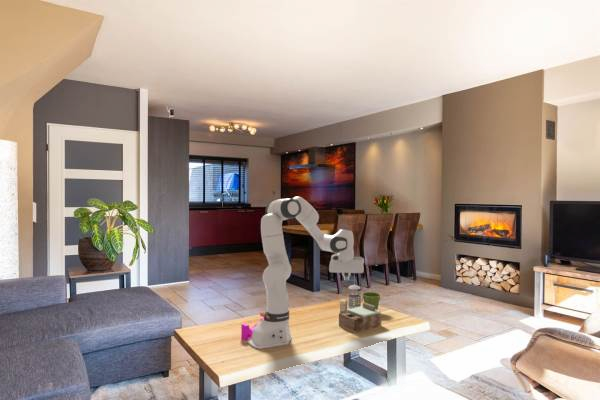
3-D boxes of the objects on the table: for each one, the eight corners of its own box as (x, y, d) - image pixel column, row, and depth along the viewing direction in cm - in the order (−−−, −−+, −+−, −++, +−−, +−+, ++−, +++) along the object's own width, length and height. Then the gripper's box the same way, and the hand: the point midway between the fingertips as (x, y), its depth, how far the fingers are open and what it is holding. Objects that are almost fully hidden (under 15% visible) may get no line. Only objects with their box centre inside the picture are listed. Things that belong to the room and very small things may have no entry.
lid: (363, 317, 201) (363, 310, 201) (347, 311, 212) (347, 305, 212) (380, 312, 208) (380, 306, 208) (364, 307, 219) (364, 301, 219)
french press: (354, 305, 247) (354, 268, 246) (367, 310, 237) (367, 270, 237) (343, 308, 241) (343, 269, 241) (356, 312, 232) (356, 272, 231)
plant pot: (378, 309, 239) (379, 291, 239) (382, 315, 227) (383, 297, 227) (360, 308, 239) (360, 291, 239) (363, 315, 227) (363, 296, 227)
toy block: (261, 330, 202) (261, 316, 202) (269, 333, 197) (269, 319, 197) (238, 337, 192) (238, 322, 192) (245, 340, 187) (245, 326, 187)
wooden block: (344, 321, 215) (345, 301, 215) (339, 320, 217) (339, 300, 217) (347, 320, 218) (347, 299, 218) (342, 319, 220) (342, 299, 220)
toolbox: (354, 333, 198) (355, 319, 197) (338, 326, 208) (338, 313, 208) (381, 325, 209) (381, 313, 209) (364, 319, 220) (364, 307, 220)
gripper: (364, 255, 219) (364, 279, 219) (329, 255, 222) (329, 278, 222) (364, 257, 212) (364, 281, 213) (328, 257, 216) (328, 280, 216)
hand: (346, 280), depth 217 cm, fingers closed
